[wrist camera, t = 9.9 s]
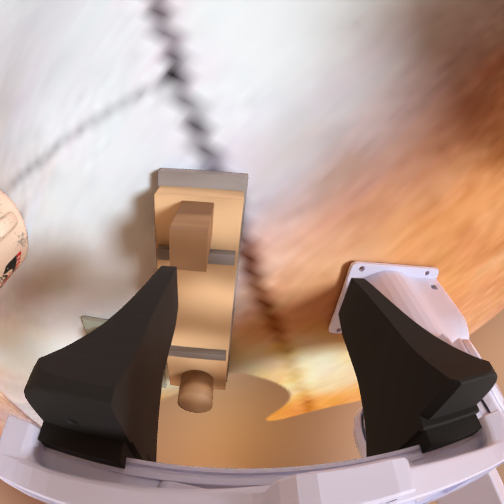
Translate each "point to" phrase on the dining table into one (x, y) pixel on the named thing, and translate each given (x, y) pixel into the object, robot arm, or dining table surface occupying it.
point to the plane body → (200, 274)
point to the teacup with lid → (11, 238)
